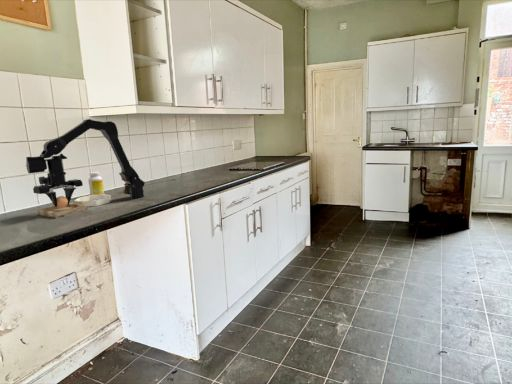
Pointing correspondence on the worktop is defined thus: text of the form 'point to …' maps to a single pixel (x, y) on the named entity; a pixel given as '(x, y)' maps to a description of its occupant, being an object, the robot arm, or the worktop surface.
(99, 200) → the bowl
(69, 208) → the tray
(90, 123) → the robot arm
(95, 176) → the supplement bottle
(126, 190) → the pottery mug
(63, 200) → the ball
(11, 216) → the worktop surface
